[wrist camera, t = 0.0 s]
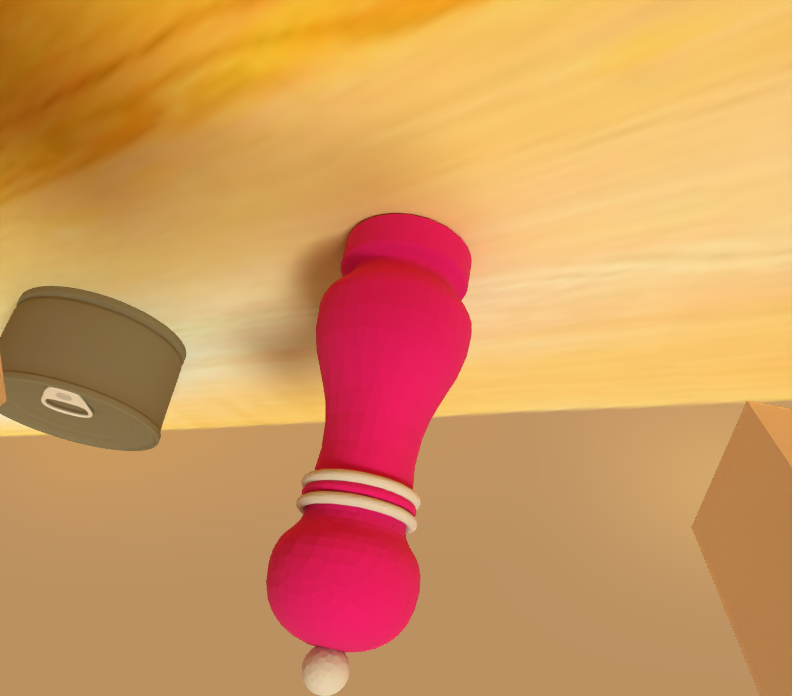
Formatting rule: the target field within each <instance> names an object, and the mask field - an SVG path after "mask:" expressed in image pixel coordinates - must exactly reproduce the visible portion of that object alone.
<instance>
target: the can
mask: <svg viewBox="0 0 792 696" xmlns="http://www.w3.org/2000/svg"><path fill="white" fill-rule="evenodd" d="M0 356H1V363H2V371H3V378H4V386H5V393H6V400H7V401H6V402H5V403H3V404H2V405H1V406H0V414H2V415H4V416H6V417H8V418H10V419H12V420H14V421H16V422H19V423H21V424H23V425H26V426H28V427H31V428H33V429H36V430H38V431H41V432H44V433H47V434H50V435H53V436H56V437H59V438H62V439H66V440H69V441H73V442H77V443H81V444H85V445H90V446H95V447H100V448H106V449H113V450H123V451H142V450H148V449H151V448H154V447H155V446H156V445H157V444H158V443H159V440H160V437H161V433H160V431H161V427H162V424H163V421H164V418H165V415H166V412H167V409H168V406H169V403H170V400H171V397H172V394H173V391H174V388H175V385H176V382H177V379H178V376H179V373H180V370H181V366H182V365H183V363H184V360H185V357H186V349H185V347H184V345H183V343H182V341H181V340H180V339H179V338H178V336H177V335H176V334H175V333H174V332H173V331H171V330H170V329H169V328H168V327H167V326H165V325H164V324H162V323H161V322H160V321H158V320H157V319H155V318H153V317H152V316H150V315H148V314H146V313H145V312H143V311H141V310H139V309H137V308H135V307H132V306H130V305H128V304H126V303H123V302H121V301H118V300H115V299H113V298H110V297H107V296H104V295H100V294H97V293H93V292H89V291H85V290H80V289H75V288H69V287H60V286H44V287H37V288H33V289H30V290H28V291H26V292H24V293H23V294H22V296H21V297H20V299H19V301H18V304H17V307H16V309H15V310H14V312H13V314H12V316H11V317H10V319H9V321H8V323H7V325H6V327H5V329H4V331H3V333H2V335H1V337H0Z"/></svg>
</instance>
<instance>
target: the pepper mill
mask: <svg viewBox="0 0 792 696" xmlns="http://www.w3.org/2000/svg"><path fill="white" fill-rule="evenodd" d="M470 269H471V254H470V252H469V249H468V247H467V246H466V244H465V243H464V241H463V240H462V239H461V237H459V236H458V235H457V234H456V233H454V232H453V231H452V230H451V229H449V228H448V227H446V226H444V225H442V224H440V223H438V222H436V221H434V220H431V219H429V218H424V217H420V216H416V215H411V214H397V213H392V214H385V215H379V216H374V217H372V218H369V219H366V220H365V221H363V222H362V223H360V224H358V225H357V226H356V227H355V228H354V229H353V230H352V232H351V233H350V234H349V237H348V240H347V244H346V248H345V251H344V255H343V259H342V263H341V273H342V276H343V277H342V278H340V279H339V280H337V281H336V282H335V283H334V284H333V285H332V286H330V288H329V289H328V290H327V291H326V293H325V294H324V296H323V298H322V300H321V303H320V307H319V313H318V319H317V325H316V344H317V354H318V360H319V365H320V370H321V375H322V381H323V387H324V394H325V401H326V422H325V428H324V435H323V442H322V448H321V452H320V455H319V458H318V461H317V464H316V467H315V470H314V471H312V472H309V473H308V474H306V475H305V476H304V477H303V479H302V486H303V490H302V496H300V497H299V498H298V500H297V507H298V509H299V511H300V512H301V513H302V514H304V515H303V516H302V518H301V520H300V521H299V522H298V523H297V524H295V525H294V526H293V527H292V528H290V529H289V530H288V531H286V532H285V533H284V534H283V535H282V536H281V537H280V539H279V540H278V542H277V543H276V545H275V547H274V548H273V551H272V554H271V557H270V560H269V565H268V573H267V580H266V583H267V595H268V601H269V603H270V606H271V609H272V611H273V613H274V615H275V616H276V618H277V620H278V621H279V622H280V624H281V625H282V626H283V627H284V628H285V629H286V630H288V631H289V632H290V633H291V634H292V635H293V636H295V637H297V638H299V639H300V640H302V641H304V642H306V643H308V644H310V645H314V646H316V647H314V648H313V649H312V650H311V651H310V652H309V653H308V654H307V655H306V657H305V659H304V661H303V664H302V678H303V680H304V683H305V685H306V686H307V688H308V689H309V690H310V691H312V692H313V693H314V694H317V695H320V696H329V695H332V694H335V693H336V692H338V691H339V690H340V689H342V688H343V686H344V685H345V683H346V682H347V679H348V676H349V670H350V667H349V661H348V658H347V656H346V655H345V653H344V652H361V651H367V650H371V649H376V648H378V647H380V646H382V645H384V644H386V643H388V642H390V641H391V640H393V639H394V638H395V637H396V636H398V635H399V633H400V632H401V631H402V630H403V629H404V628H405V627H406V625H407V624H408V622H409V620H410V618H411V616H412V614H413V612H414V610H415V606H416V602H417V599H418V595H419V591H420V571H419V566H418V563H417V560H416V558H415V556H414V554H413V553H412V551H411V549H410V547H409V545H408V543H407V540H406V534H409V533H411V532H413V531H414V530H415V529H416V528H417V521H416V519H415V516H416V510H417V509H418V508H419V507H420V503H421V501H420V498H419V496H418V495H417V494H416V493H415V492H414V491H413V481H414V470H415V464H416V459H417V456H418V452H419V449H420V445H421V441H422V438H423V436H424V434H425V431H426V429H427V427H428V424H429V422H430V420H431V418H432V417H433V415H434V413H435V411H436V410H437V408H438V406H439V405H440V403H441V402H442V400H443V399H444V397H445V396H446V394H447V392H448V391H449V389H450V388H451V386H452V385H453V383H454V382H455V380H456V379H457V377H458V374H459V372H460V370H461V368H462V366H463V363H464V361H465V359H466V357H467V353H468V348H469V344H470V339H471V320H470V317H469V314H468V312H467V310H466V308H465V306H464V304H463V303H462V302H461V300H462V299H463V298H464V296H465V295H466V292H467V288H468V282H469V276H470Z"/></svg>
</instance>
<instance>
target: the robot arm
mask: <svg viewBox="0 0 792 696" xmlns="http://www.w3.org/2000/svg"><path fill="white" fill-rule="evenodd" d="M6 401H7V400H6V393H5V386H4V378H3V371H2V363H1V356H0V406H1V405H2V404H3V403H5V402H6ZM692 529H693V532H694V534H695V537H696V539H697V542H698V544H699V547H700V549H701V552H702V554H703V557H704V559H705V561H706V564H707V566H708V569H709V571H710V574H711V576H712V579H713V581H714V584H715V586H716V589H717V591H718V593H719V596H720V598H721V601H722V603H723V606H724V608H725V611H726V613H727V616H728V618H729V621H730V623H731V625H732V628H733V631H734V633H735V636H736V638H737V640H738V643H739V645H740V648H741V650H742V653H743V655H744V658H745V660H746V663H747V665H748V668H749V670H750V672H751V675H752V677H753V680H754V682H755V685H756V687H757V690H758V692H759V695H760V696H792V409H790V408H785V407H779V406H774V405H768V404H762V403H757V402H751V401H746V404H745V406H744V408H743V411H742V413H741V415H740V418H739V420H738V422H737V424H736V427H735V429H734V432H733V434H732V436H731V438H730V441H729V443H728V445H727V447H726V450H725V452H724V454H723V456H722V459H721V461H720V464H719V466H718V468H717V470H716V472H715V475H714V477H713V479H712V482H711V484H710V486H709V489H708V491H707V493H706V495H705V498H704V500H703V502H702V504H701V507H700V509H699V511H698V514H697V516H696V518H695V520H694V523H693V525H692Z"/></svg>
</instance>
